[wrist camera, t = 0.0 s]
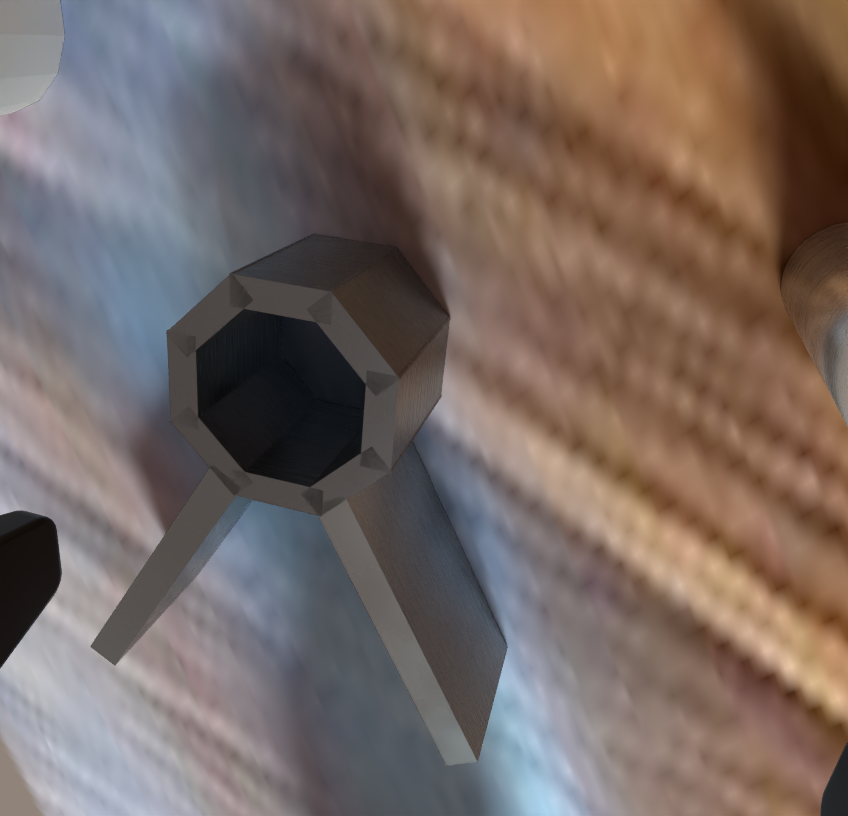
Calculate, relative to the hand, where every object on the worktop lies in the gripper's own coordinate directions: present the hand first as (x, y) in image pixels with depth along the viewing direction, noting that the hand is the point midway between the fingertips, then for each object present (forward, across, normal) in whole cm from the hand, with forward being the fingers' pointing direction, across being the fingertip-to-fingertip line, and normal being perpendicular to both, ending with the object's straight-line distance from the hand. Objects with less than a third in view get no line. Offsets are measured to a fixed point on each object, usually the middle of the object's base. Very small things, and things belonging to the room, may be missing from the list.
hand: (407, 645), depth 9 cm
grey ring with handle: (+15, +6, +6) cm, 17 cm away
